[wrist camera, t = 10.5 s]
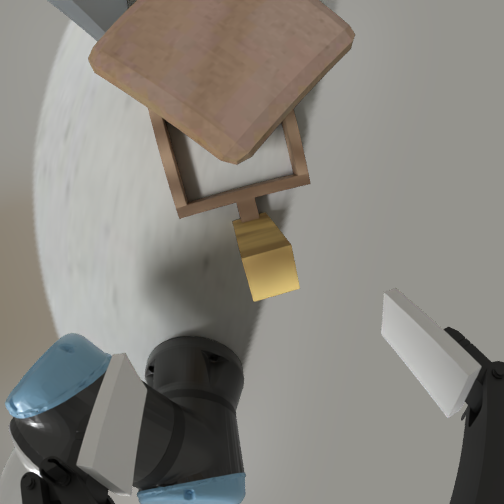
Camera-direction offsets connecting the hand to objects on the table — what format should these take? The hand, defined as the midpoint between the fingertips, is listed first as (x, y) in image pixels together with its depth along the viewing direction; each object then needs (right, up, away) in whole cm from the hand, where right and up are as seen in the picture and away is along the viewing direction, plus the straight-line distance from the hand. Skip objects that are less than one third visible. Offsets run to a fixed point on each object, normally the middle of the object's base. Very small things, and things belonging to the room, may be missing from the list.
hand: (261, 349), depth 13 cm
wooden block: (-4, +21, +15) cm, 26 cm away
